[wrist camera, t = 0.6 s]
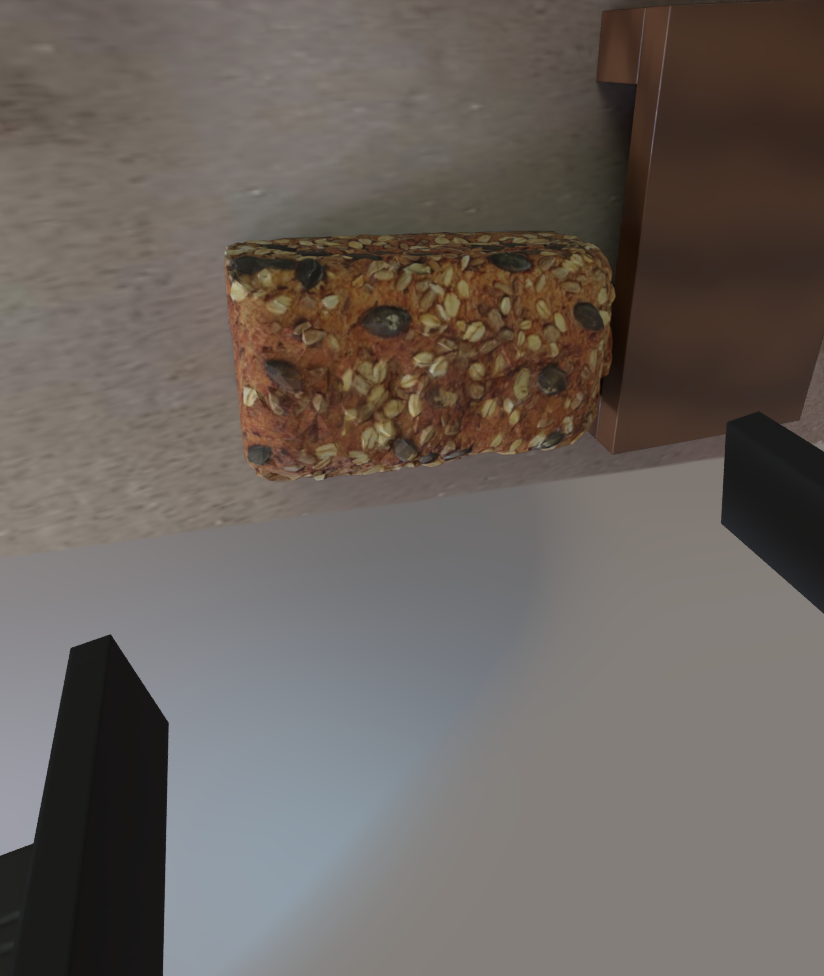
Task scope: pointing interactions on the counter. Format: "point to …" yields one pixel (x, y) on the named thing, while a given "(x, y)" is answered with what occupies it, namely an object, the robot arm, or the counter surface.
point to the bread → (414, 347)
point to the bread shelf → (715, 218)
